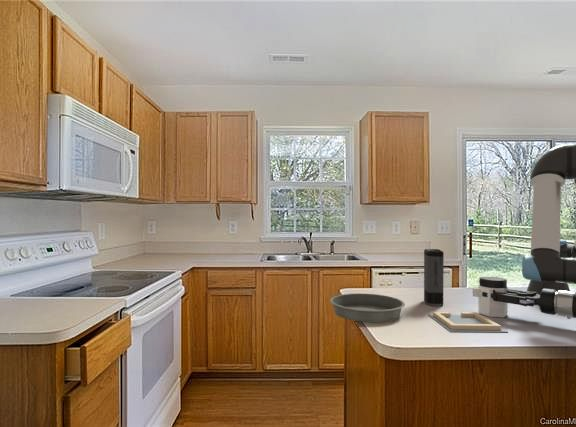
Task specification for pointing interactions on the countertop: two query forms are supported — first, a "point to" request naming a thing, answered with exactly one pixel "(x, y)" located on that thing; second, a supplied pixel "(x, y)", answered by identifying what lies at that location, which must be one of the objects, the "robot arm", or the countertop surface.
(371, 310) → the cake pan
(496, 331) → the beige flat piece
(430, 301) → the electronic device
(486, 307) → the jar
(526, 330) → the countertop surface
